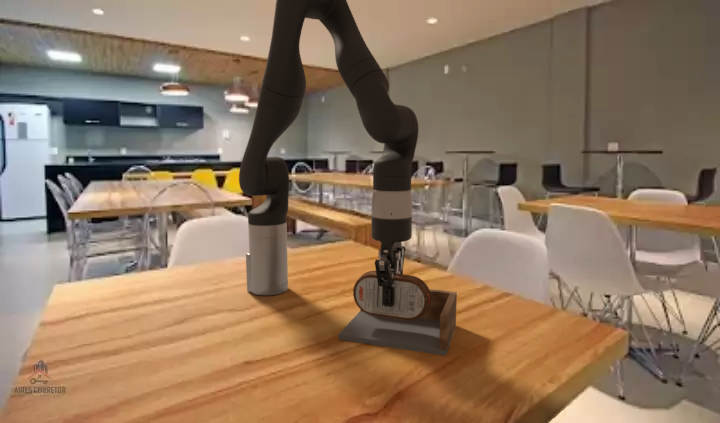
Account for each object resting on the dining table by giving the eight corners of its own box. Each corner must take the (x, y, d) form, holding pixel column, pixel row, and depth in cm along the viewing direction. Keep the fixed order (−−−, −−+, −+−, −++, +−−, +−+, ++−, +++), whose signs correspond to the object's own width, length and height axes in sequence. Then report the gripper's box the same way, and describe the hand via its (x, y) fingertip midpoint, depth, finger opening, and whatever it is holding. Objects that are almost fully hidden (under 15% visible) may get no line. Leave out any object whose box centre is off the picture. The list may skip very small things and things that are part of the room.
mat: (338, 339, 83) (338, 334, 83) (362, 313, 96) (362, 308, 96) (445, 355, 77) (446, 350, 76) (455, 325, 90) (455, 320, 90)
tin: (430, 320, 84) (432, 276, 83) (427, 325, 81) (429, 280, 80) (355, 308, 89) (357, 267, 88) (350, 313, 86) (352, 270, 85)
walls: (338, 334, 83) (338, 303, 82) (362, 308, 96) (362, 281, 95) (446, 350, 76) (447, 317, 76) (455, 320, 90) (456, 291, 89)
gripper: (402, 221, 75) (400, 318, 77) (419, 209, 88) (417, 293, 90) (360, 218, 77) (360, 313, 80) (382, 208, 90) (382, 289, 93)
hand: (390, 302), depth 85 cm, fingers closed on tin, 2 cm apart
